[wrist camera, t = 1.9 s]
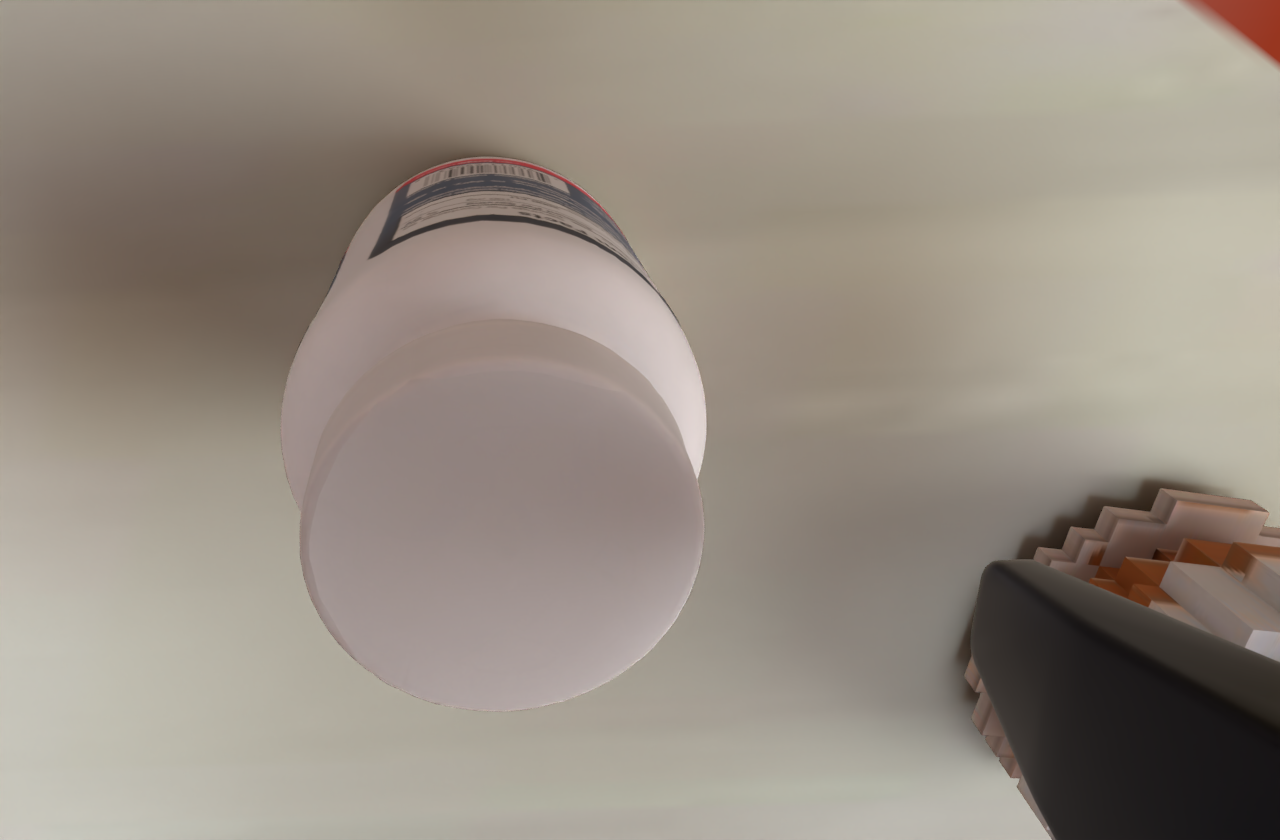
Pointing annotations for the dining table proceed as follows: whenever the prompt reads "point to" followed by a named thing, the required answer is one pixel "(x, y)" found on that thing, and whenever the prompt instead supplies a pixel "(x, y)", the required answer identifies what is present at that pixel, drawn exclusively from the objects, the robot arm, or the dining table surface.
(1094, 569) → the decorative ornament
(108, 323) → the dining table surface
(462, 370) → the pill bottle
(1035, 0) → the dining table surface
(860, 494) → the dining table surface
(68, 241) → the dining table surface
